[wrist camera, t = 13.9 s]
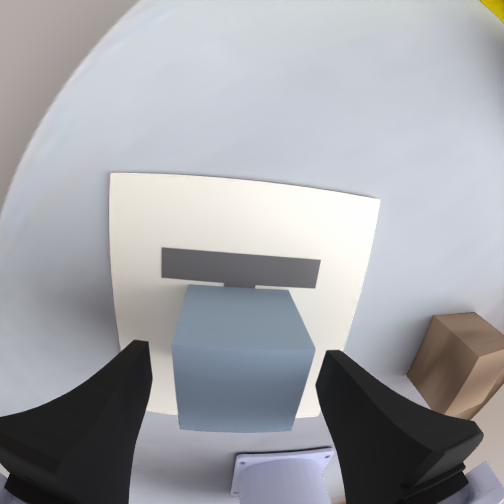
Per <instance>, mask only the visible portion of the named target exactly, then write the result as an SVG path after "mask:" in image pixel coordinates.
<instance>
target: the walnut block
mask: <svg viewBox="0 0 504 504" xmlns="http://www.w3.org/2000/svg"><path fill="white" fill-rule="evenodd" d="M503 368H504V335H503V334H502V333H501V332H500V331H498V330H497V329H496V328H495V327H493V326H492V325H491V324H489V323H488V322H487V321H486V320H484V319H483V318H482V317H480V316H479V315H478V314H476V313H475V312H471V313H459V314H446V315H433V317H432V320H431V323H430V325H429V328H428V330H427V332H426V335H425V337H424V339H423V342H422V344H421V346H420V349H419V351H418V353H417V355H416V357H415V359H414V361H413V364H412V366H411V368H410V370H409V372H408V374H407V377H408V378H409V379H410V381H411V382H412V383H413V385H414V386H415V387H416V389H417V390H418V391H419V393H420V394H421V396H422V397H423V398H424V400H425V401H426V403H427V404H428V405H429V407H430V408H431V410H433V411H435V412H438V413H441V414H444V415H448V416H453V415H456V414H458V413H460V412H463V411H465V410H467V409H469V408H472V407H474V406H476V405H478V404H480V403H482V402H483V401H484V399H485V398H486V396H487V395H488V393H489V391H490V390H491V388H492V387H493V385H494V384H495V382H496V380H497V379H498V377H499V375H500V374H501V372H502V370H503Z"/></svg>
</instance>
